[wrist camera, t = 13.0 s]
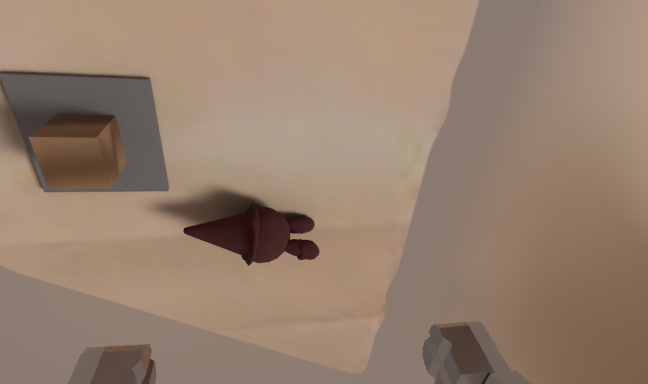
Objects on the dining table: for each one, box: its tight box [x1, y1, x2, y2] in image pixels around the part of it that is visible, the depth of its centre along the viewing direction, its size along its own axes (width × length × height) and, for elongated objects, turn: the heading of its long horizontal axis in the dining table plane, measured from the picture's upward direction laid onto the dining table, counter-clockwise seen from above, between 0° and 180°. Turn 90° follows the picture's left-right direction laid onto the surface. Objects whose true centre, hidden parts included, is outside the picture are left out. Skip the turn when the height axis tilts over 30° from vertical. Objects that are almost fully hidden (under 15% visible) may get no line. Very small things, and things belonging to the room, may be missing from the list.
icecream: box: [184, 203, 319, 266], centre depth 41 cm, size 7×7×15 cm
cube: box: [29, 114, 127, 189], centre depth 33 cm, size 5×5×5 cm
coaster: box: [0, 72, 169, 192], centre depth 36 cm, size 12×12×1 cm
